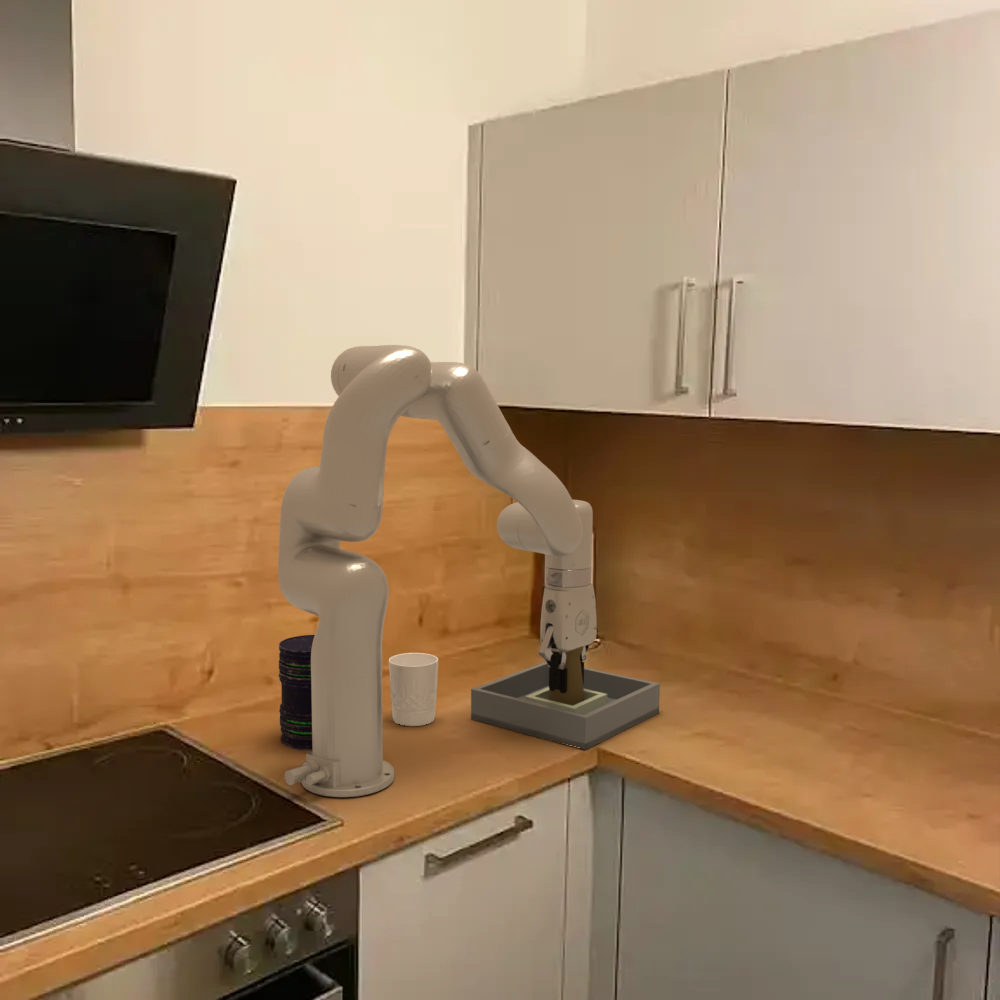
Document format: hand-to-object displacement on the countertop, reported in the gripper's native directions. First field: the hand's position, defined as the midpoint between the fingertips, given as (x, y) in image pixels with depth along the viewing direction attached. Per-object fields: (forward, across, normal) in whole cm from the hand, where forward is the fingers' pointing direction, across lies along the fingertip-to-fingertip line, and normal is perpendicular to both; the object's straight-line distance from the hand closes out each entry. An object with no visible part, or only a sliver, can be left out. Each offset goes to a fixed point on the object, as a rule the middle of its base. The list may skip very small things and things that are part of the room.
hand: (566, 686), depth 169 cm
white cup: (+5, -17, +18) cm, 25 cm away
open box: (+5, 0, 0) cm, 5 cm away
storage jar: (+5, -33, +24) cm, 41 cm away
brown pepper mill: (+2, 0, 0) cm, 2 cm away
